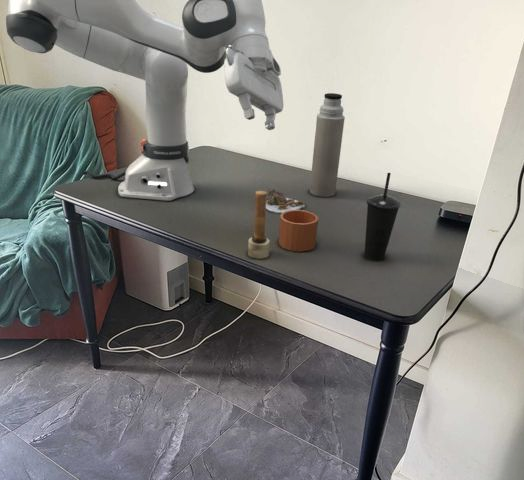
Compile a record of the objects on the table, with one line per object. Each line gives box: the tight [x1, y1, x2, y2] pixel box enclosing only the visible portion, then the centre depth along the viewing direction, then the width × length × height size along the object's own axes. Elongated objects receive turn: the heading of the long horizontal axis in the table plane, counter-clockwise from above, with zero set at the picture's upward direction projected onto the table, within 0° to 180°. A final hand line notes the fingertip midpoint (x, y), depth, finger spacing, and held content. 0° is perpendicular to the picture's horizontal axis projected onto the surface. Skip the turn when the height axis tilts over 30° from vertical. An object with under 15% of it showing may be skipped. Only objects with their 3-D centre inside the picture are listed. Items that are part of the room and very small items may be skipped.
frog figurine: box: [266, 188, 306, 214], centre depth 149 cm, size 12×12×4 cm
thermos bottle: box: [309, 92, 346, 198], centre depth 153 cm, size 8×8×28 cm
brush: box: [247, 190, 271, 260], centre depth 119 cm, size 5×5×15 cm
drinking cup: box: [363, 172, 402, 261], centre depth 120 cm, size 8×8×20 cm
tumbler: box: [278, 209, 319, 252], centre depth 127 cm, size 9×9×7 cm
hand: (260, 123), depth 114 cm, fingers open, 8 cm apart
